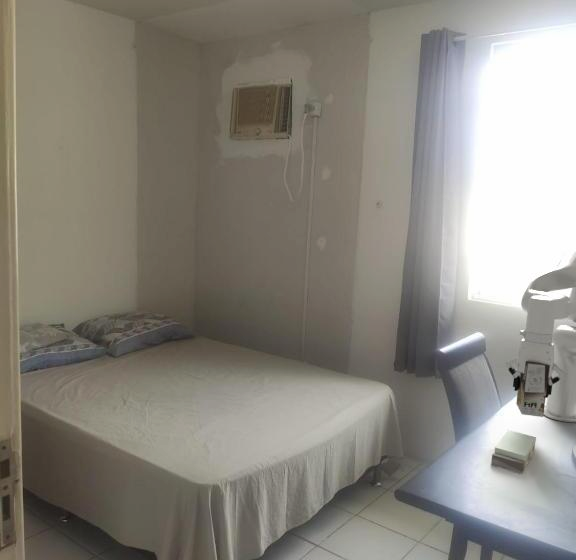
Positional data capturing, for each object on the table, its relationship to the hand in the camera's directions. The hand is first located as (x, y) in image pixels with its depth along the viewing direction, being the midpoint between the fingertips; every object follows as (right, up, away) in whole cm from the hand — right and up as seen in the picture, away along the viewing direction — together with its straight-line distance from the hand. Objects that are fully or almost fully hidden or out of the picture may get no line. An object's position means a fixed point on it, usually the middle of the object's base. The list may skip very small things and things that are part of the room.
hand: (531, 392), depth 171 cm
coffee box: (0, -6, +1) cm, 6 cm away
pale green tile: (-9, -13, -11) cm, 19 cm away
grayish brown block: (-10, -16, -12) cm, 22 cm away
